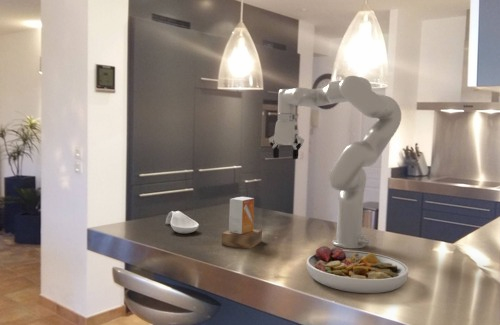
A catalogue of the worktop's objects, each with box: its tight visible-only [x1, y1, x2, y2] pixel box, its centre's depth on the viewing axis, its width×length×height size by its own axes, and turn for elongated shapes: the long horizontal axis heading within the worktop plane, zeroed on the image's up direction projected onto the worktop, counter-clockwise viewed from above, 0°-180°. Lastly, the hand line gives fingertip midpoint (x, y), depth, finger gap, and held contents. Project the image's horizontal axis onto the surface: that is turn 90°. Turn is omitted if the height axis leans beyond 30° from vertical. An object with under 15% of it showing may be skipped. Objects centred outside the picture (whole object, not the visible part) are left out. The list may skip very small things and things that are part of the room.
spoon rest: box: [165, 210, 200, 235], centre depth 202 cm, size 24×12×7 cm, turn 30°
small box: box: [228, 196, 255, 234], centre depth 180 cm, size 8×6×13 cm
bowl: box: [306, 245, 410, 294], centre depth 142 cm, size 30×30×8 cm
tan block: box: [221, 228, 263, 250], centre depth 181 cm, size 12×12×5 cm
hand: (285, 158), depth 200 cm, fingers open, 9 cm apart
